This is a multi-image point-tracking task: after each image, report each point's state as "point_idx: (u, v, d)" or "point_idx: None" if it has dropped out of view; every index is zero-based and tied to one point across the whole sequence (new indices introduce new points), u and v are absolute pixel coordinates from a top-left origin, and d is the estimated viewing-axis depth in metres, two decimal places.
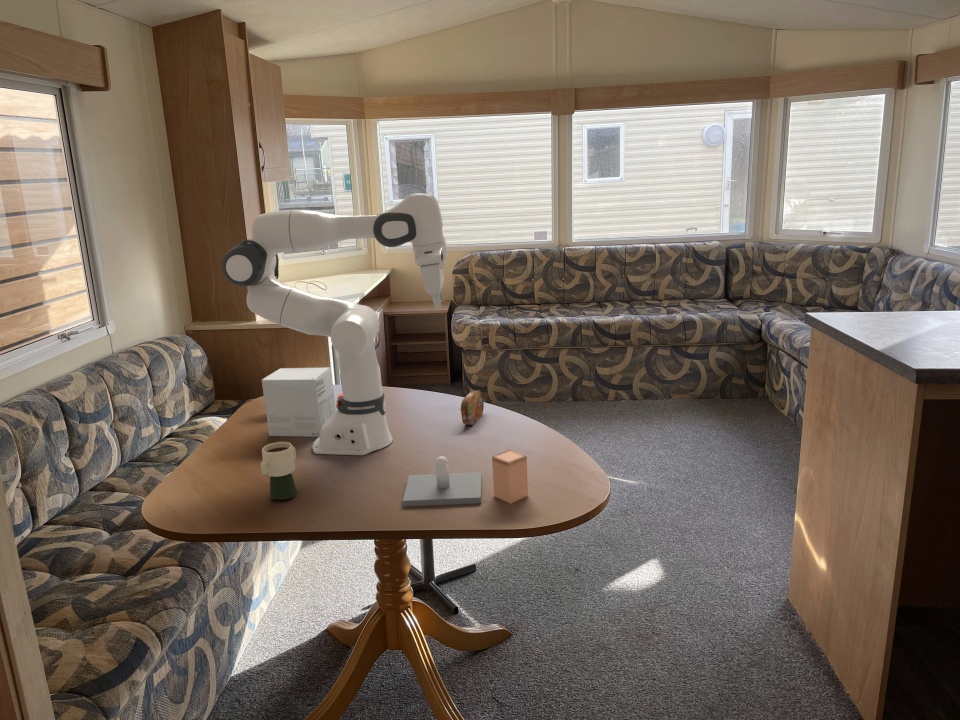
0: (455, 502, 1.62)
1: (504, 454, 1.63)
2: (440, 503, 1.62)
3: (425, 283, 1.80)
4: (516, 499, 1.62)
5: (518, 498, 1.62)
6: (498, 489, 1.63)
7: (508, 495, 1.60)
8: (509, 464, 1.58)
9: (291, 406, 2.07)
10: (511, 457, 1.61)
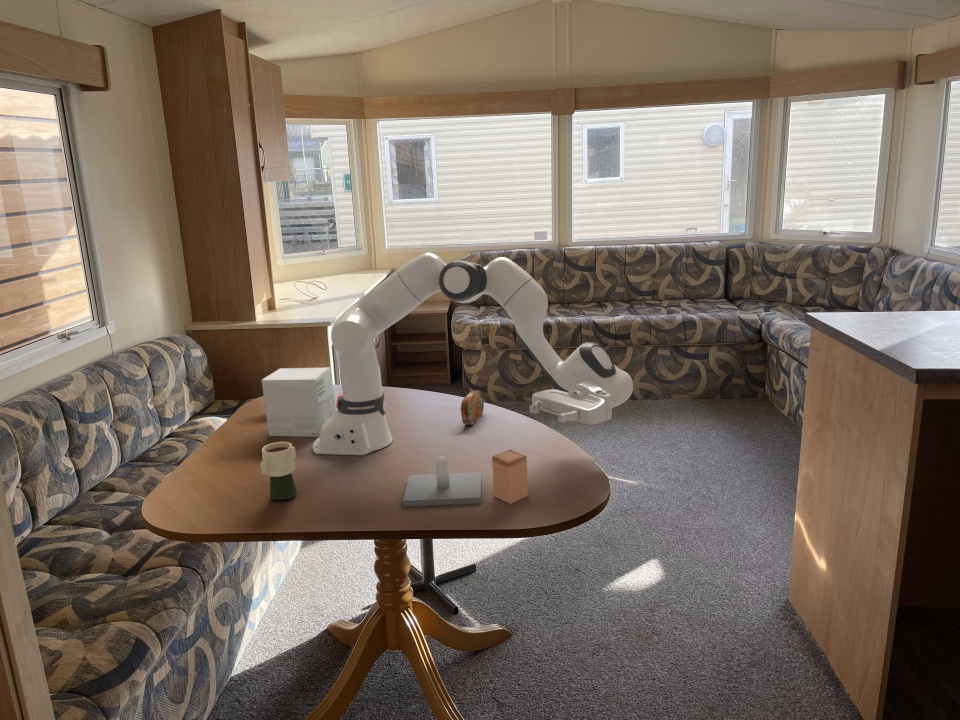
0: (455, 502, 1.62)
1: (504, 454, 1.63)
2: (440, 503, 1.62)
3: (598, 408, 1.64)
4: (516, 499, 1.62)
5: (518, 498, 1.62)
6: (498, 489, 1.63)
7: (508, 495, 1.60)
8: (509, 464, 1.58)
9: (291, 406, 2.07)
10: (511, 457, 1.61)
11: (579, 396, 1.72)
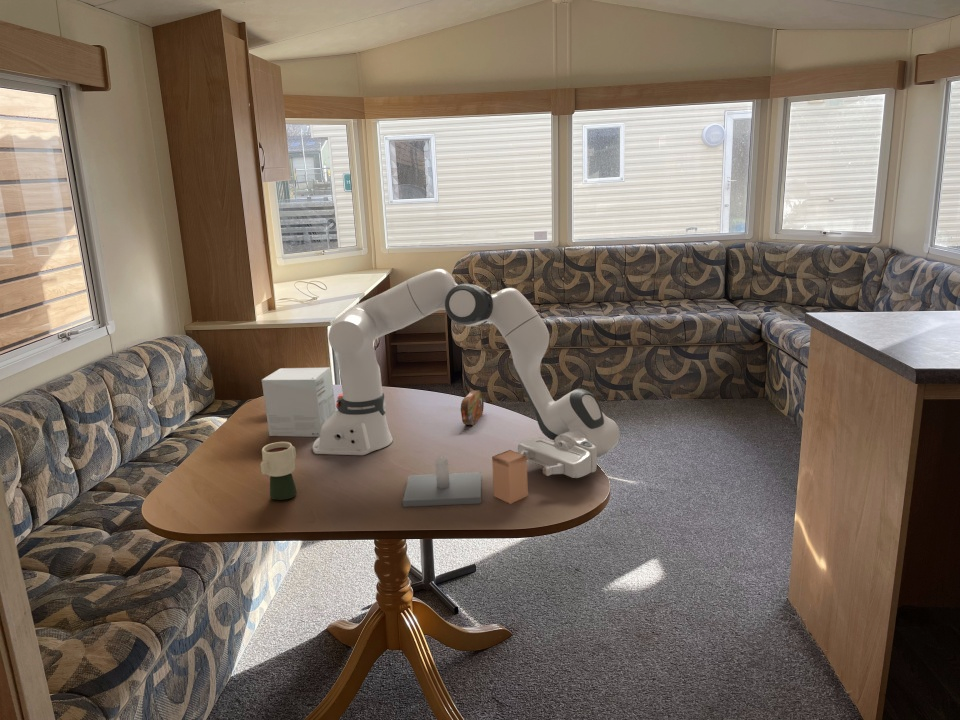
0: (455, 502, 1.62)
1: (504, 454, 1.63)
2: (440, 503, 1.62)
3: (583, 461, 1.64)
4: (516, 499, 1.62)
5: (518, 498, 1.62)
6: (498, 489, 1.63)
7: (508, 495, 1.60)
8: (509, 464, 1.58)
9: (291, 406, 2.07)
10: (511, 457, 1.61)
11: (564, 447, 1.72)
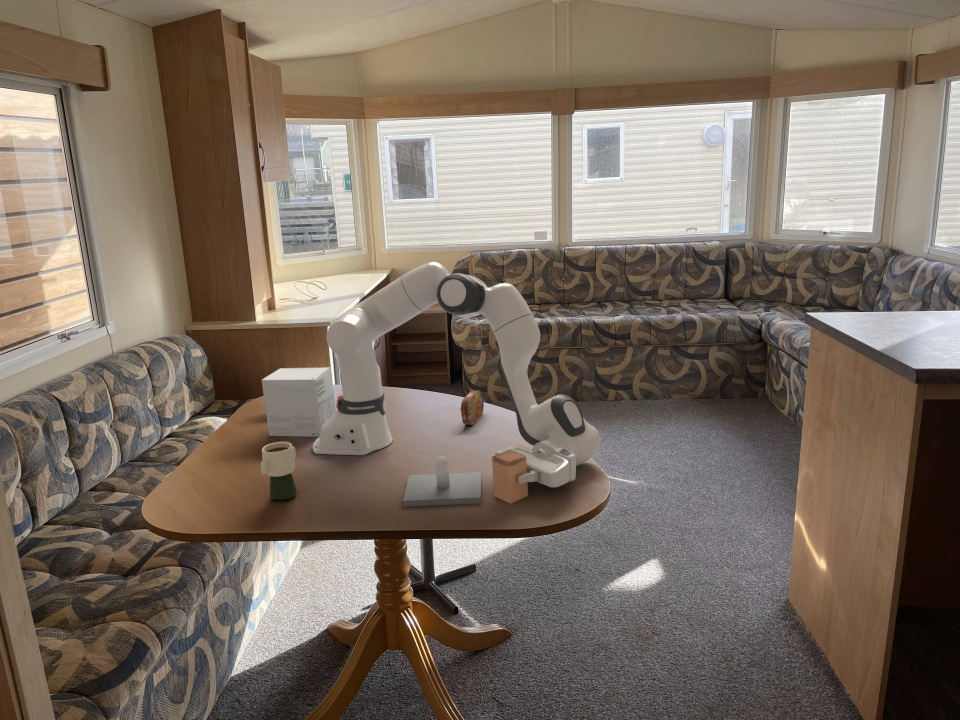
0: (455, 502, 1.62)
1: (504, 454, 1.63)
2: (440, 503, 1.62)
3: (561, 470, 1.59)
4: (516, 499, 1.62)
5: (518, 498, 1.62)
6: (498, 489, 1.63)
7: (508, 495, 1.60)
8: (508, 464, 1.58)
9: (291, 406, 2.07)
10: (511, 457, 1.61)
11: (543, 455, 1.67)
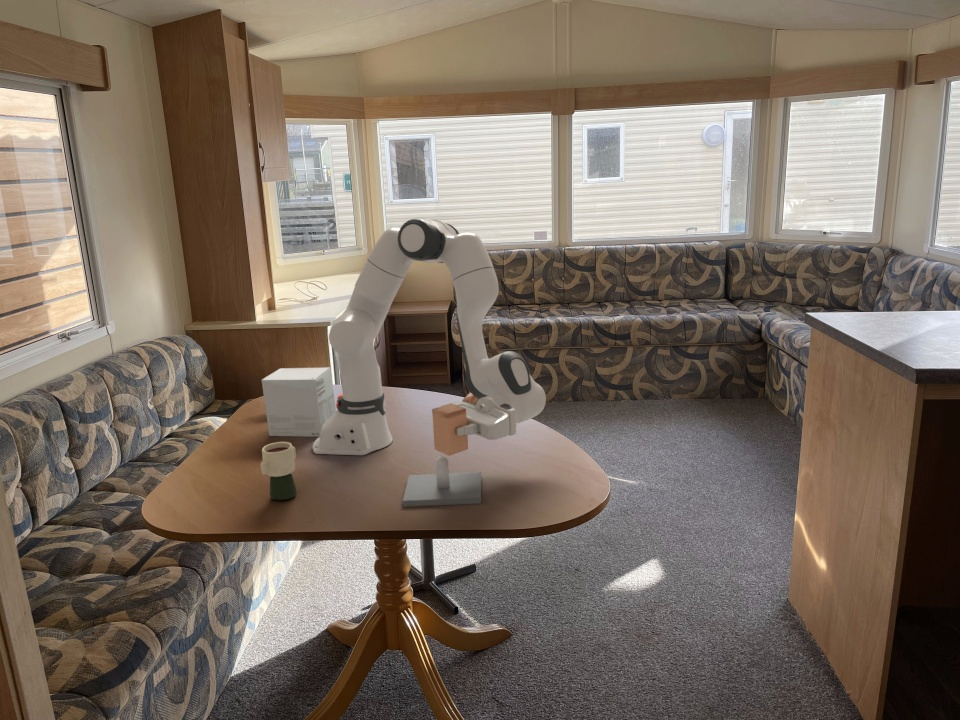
0: (455, 502, 1.62)
1: (444, 407, 1.63)
2: (440, 503, 1.62)
3: (499, 423, 1.60)
4: (455, 451, 1.62)
5: (457, 451, 1.63)
6: (438, 442, 1.64)
7: (447, 447, 1.61)
8: (447, 415, 1.59)
9: (291, 406, 2.07)
10: (451, 409, 1.62)
11: (484, 410, 1.68)
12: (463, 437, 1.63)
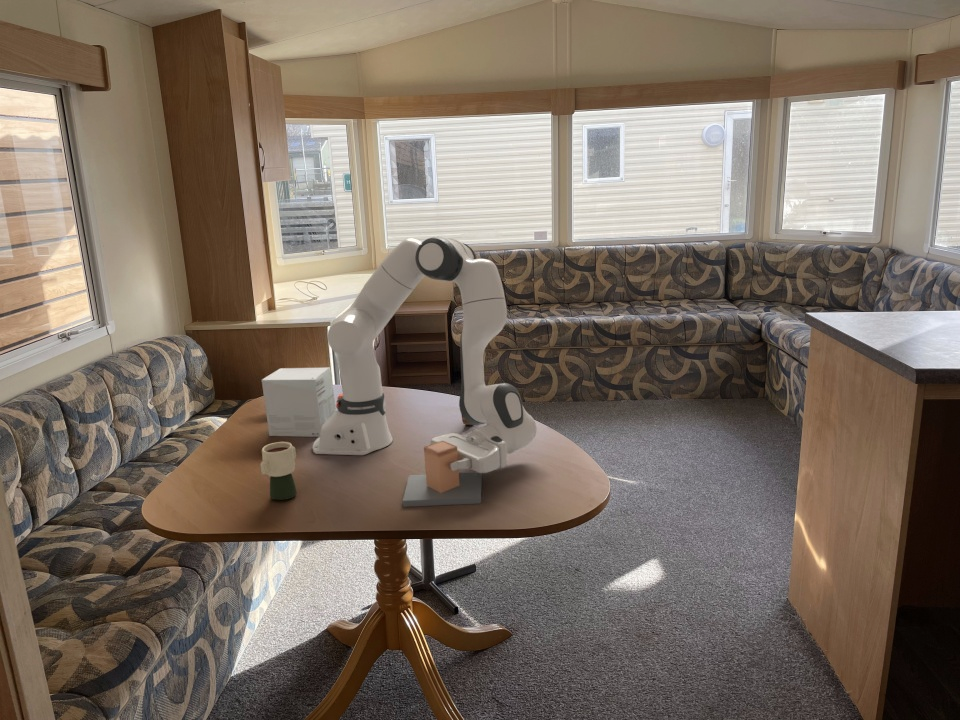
0: (455, 502, 1.62)
1: (436, 445, 1.67)
2: (440, 503, 1.62)
3: (490, 456, 1.63)
4: (447, 488, 1.66)
5: (449, 487, 1.66)
6: (430, 479, 1.67)
7: (439, 484, 1.64)
8: (438, 454, 1.62)
9: (291, 406, 2.07)
10: (442, 447, 1.65)
11: (475, 442, 1.71)
12: (454, 474, 1.66)
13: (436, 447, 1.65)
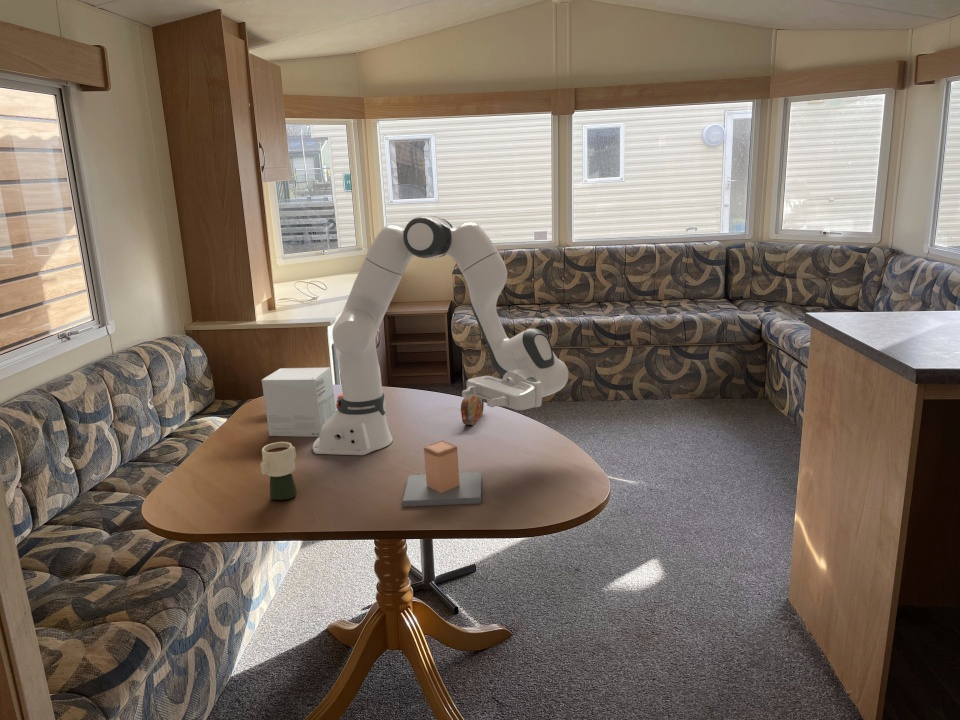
0: (455, 502, 1.62)
1: (436, 445, 1.67)
2: (440, 503, 1.62)
3: (527, 394, 1.68)
4: (447, 488, 1.66)
5: (449, 487, 1.66)
6: (430, 479, 1.67)
7: (438, 484, 1.64)
8: (438, 454, 1.62)
9: (291, 406, 2.07)
10: (442, 447, 1.65)
11: (511, 383, 1.76)
12: (454, 474, 1.66)
13: (436, 447, 1.65)
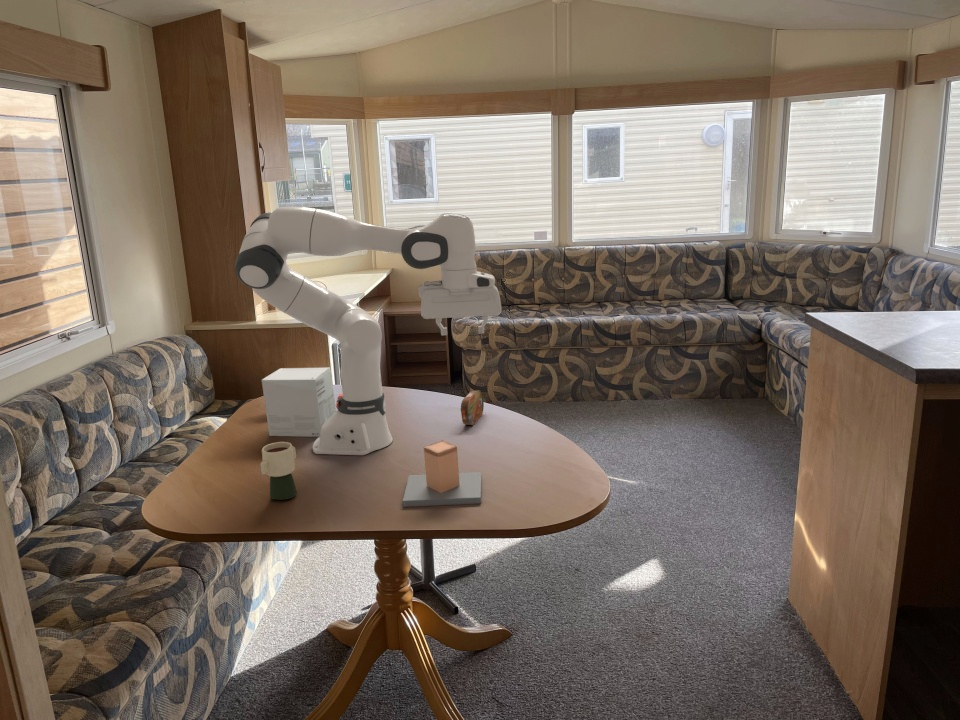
0: (455, 502, 1.62)
1: (436, 445, 1.67)
2: (440, 503, 1.62)
3: (500, 303, 1.74)
4: (447, 488, 1.66)
5: (449, 487, 1.66)
6: (430, 479, 1.67)
7: (438, 484, 1.64)
8: (438, 454, 1.62)
9: (291, 406, 2.07)
10: (442, 447, 1.65)
11: (465, 294, 1.73)
12: (454, 474, 1.66)
13: (436, 447, 1.65)
